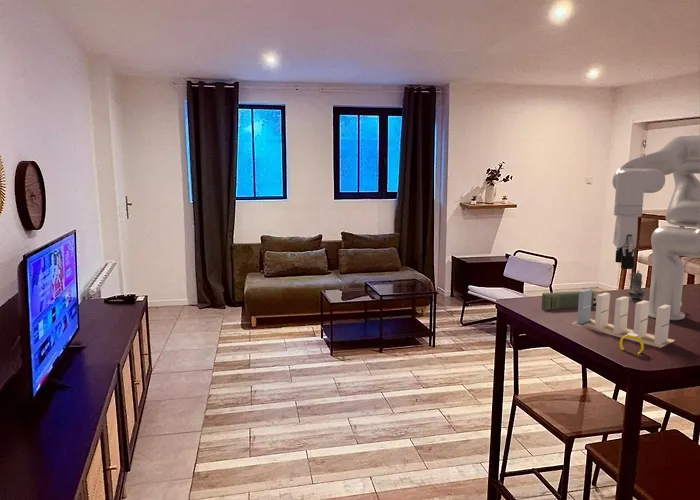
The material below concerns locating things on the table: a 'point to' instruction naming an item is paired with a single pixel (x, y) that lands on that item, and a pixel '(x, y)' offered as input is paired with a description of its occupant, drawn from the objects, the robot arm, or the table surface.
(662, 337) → the domino
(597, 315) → the domino
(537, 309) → the table surface
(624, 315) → the domino
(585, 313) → the domino
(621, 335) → the board
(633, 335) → the yellow wristwatch
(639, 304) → the domino
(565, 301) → the handheld radio
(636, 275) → the dark grey tall piece
